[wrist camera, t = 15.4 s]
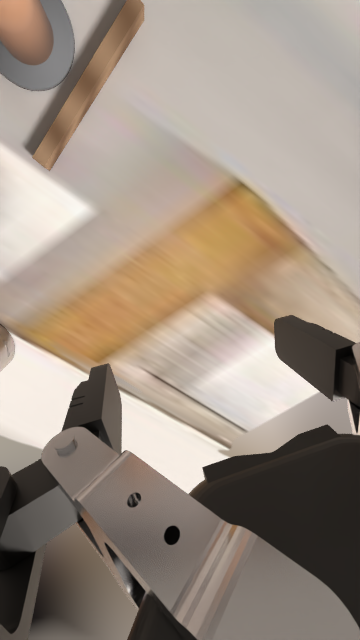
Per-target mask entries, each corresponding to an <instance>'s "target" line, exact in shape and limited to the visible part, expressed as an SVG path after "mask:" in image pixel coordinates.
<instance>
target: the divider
mask: <svg viewBox="0 0 360 640" xmlns="http://www.w3.org/2000/svg"><path fill="white" fill-rule="evenodd" d="M143 21H144V4H143V3H142V2H141V1H140V0H127V1H126V3H125V4H124V6H123V8H122V9H121V11H120V13H119V14H118V16H117V18H116V19H115V21H114V23H113V24H112V26H111V28H110V29H109V31H108V33H107V34H106V36H105V38H104V39H103V41H102V42H101V44H100V46H99V47H98V49H97V51H96V52H95V54H94V56H93V57H92V59H91V61H90V62H89V64H88V66H87V67H86V69H85V71H84V72H83V74H82V76H81V77H80V79H79V81H78V82H77V84H76V86H75V87H74V89H73V91H72V92H71V94H70V96H69V97H68V99H67V100H66V102H65V104H64V105H63V107H62V109H61V110H60V112H59V114H58V115H57V117H56V119H55V120H54V122H53V124H52V125H51V127H50V129H49V130H48V132H47V134H46V135H45V137H44V139H43V140H42V142H41V144H40V145H39V147H38V149H37V150H36V152H35V154H34V155H33V157H32V158H33V159H35V160H36V161H37V162H38V163H40V164H41V165H42V166H43V167H45V168H46V169H48V170H49V171H50V170H51V168H52V167H53V165H54V163H55V162H56V160H57V159H58V157H59V155H60V154H61V152H62V151H63V149H64V147H65V146H66V144H67V143H68V141H69V139H70V138H71V136H72V135H73V133H74V131H75V130H76V128H77V127H78V125H79V123H80V122H81V120H82V119H83V117H84V115H85V114H86V112H87V111H88V109H89V107H90V106H91V104H92V103H93V101H94V99H95V98H96V96H97V95H98V93H99V91H100V90H101V88H102V87H103V85H104V83H105V82H106V80H107V79H108V77H109V75H110V74H111V72H112V71H113V69H114V67H115V66H116V64H117V63H118V61H119V59H120V58H121V56H122V55H123V53H124V51H125V50H126V48H127V47H128V45H129V43H130V42H131V40H132V39H133V37H134V35H135V34H136V32H137V31H138V29H139V27H140V26H141V24H142V23H143Z"/></svg>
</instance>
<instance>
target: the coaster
mask: <svg viewBox="0 0 360 640" xmlns="http://www.w3.org/2000/svg"><path fill="white" fill-rule="evenodd" d="M40 2H41V4H42V6H43V8H44V10H45V12H46V15H47V17H48V19H49V21H50V24H51V26H52V30H53V36H54V44H53V50H52V52H51V55H50V56H49V58H48V59H47V60H46V61H45V62H43V63H42V64H39V65H27V64H24V63H22V62H20V61H18V60H17V59H16V58H14V57H13V56H12V55H11V54H10V52H9V51H8V50H7V49H6V47H5V46H4V45H3V43H2V42H1V41H0V73H1V74H2V75H3V76H5V77H6V78H7V79H8V80H9V81H11V82H12V83H14V84H16V85H18V86H19V87H22V88H24V89H28V90H32V91H45V90H49V89H51V88H54V87H55V86H57V85H58V84H60V83H61V82H62V81H63V80H64V79H65V77H66V76H67V74H68V73H69V71H70V68H71V66H72V63H73V58H74V50H75V43H74V34H73V29H72V25H71V22H70V19H69V16H68V14H67V11H66V9H65V7H64V5H63V3H62V1H61V0H40Z"/></svg>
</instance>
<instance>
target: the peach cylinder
mask: <svg viewBox="0 0 360 640" xmlns="http://www.w3.org/2000/svg"><path fill="white" fill-rule="evenodd" d="M0 41H1V42H2V43H3V45H4V46H5V47H6V49H7V50H8V51H9V52H10V54H11V55H12V56H13V57H14V58H16V59H17V60H18V61H20V62H22V63H24V64H27V65H39V64H42V63H43V62H45V61H46V60H47V59H48V58H49V56H50V55H51V52H52V50H53V44H54V36H53V30H52V26H51V24H50V21H49V19H48V17H47V15H46V12H45V10H44V8H43V6H42V4H41V2H40V0H0Z"/></svg>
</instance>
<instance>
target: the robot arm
mask: <svg viewBox="0 0 360 640" xmlns="http://www.w3.org/2000/svg"><path fill="white" fill-rule="evenodd" d="M274 333H275V350H276V353H277V355H278V357H279V359H280V360H281V361H283V362H284V363H285V364H286V365H288V366H289V367H290V368H291V369H293V370H294V371H295V372H296V373H298V374H299V375H300V376H301V377H303V378H304V379H305V380H306V381H308V382H309V383H310V384H311V385H313V386H314V387H315V388H316V389H318V390H319V391H320V392H321V393H323V394H324V395H325V396H326V397H328V398H329V399H330V400H331V401H337V400H340V399H342V398H347V399H348V404H347V408H348V412H349V417H350V422H351V427H352V432H353V434H337V433H336V432H335V431H334V430H333V429H332V428H331V427H330V426H328V425H324V426H321V427H319V428H316V429H313V430H310V431H307V432H304V433H301V434H298V435H297V436H296V437H294V438H293V439H291V440H290V441H289V442H287V443H286V444H284V445H283V446H281V447H280V448H279V449H277V450H276V451H274V452H272V453H264V454H253V455H242V456H234V457H231V458H228V459H225V460H222V461H219V462H216V463H214V464H211V465H208V466H205V467H202V468H203V472H204V477H205V480H204V481H202V482H201V483H199V484H198V485H197V486H196V487H195V488H194V489H193V490H192V491H191V492H190V493H189V494H187V493H186V492H184V491H183V490H182V489H180V488H179V487H178V486H176V485H175V484H173V483H172V482H171V481H169V480H168V479H167V478H165V477H164V476H163V475H161V474H160V473H159V472H157V471H156V470H154V469H153V468H152V467H150V466H149V465H148V464H146V463H145V462H144V461H142V460H141V459H140V458H138V457H137V456H136V455H134V454H133V453H131V452H130V451H127V450H125V451H124V452H123V453H122V454H121V436H122V404H121V398H120V393H119V390H118V387H117V384H116V381H115V378H114V375H113V372H112V369H111V367H110V365H109V363H108V364H104V365H100V366H97V367H93V368H91V371H90V375H89V380H87V381H84V382H81V383H80V384H79V386H78V387H77V388H76V389H75V390H74V393H73V396H72V401H71V402H70V406H69V407H70V408H69V409H68V412H67V415H66V419H65V422H64V425H63V428H62V432H60V433H59V434H57V435H56V436H55V437H53V438H52V439H51V440H50V441H49V442H48V443H47V444H46V446H45V447H44V449H43V451H42V454H41V459H39V460H38V461H36V462H35V463H33V464H31V465H29V466H28V467H26V468H24V469H22V470H20V471H18V472H16V473H15V474H13V475H11V473H10V472H9V471H8V469H7V468H6V467H0V640H28V636H29V631H30V626H31V621H32V616H33V610H34V605H35V600H36V595H37V590H38V585H39V579H40V575H41V569H42V564H43V559H44V554H45V549H46V544H47V542H49V541H50V540H51V539H53V538H54V537H56V536H57V535H59V534H60V533H62V532H63V531H64V530H66V529H67V528H69V527H70V526H72V525H73V524H75V523H76V524H77V526H78V527H79V528H80V530H81V531H82V532H83V534H84V535H85V537H86V538H87V539H88V541H89V542H90V543H91V545H92V546H93V547H94V549H95V550H96V551H97V553H98V554H99V555H100V557H101V558H102V560H103V561H104V562H105V564H106V565H107V566H108V568H109V569H110V571H111V572H112V574H113V576H114V577H115V579H116V581H117V582H118V584H119V585H120V587H121V588H122V590H123V591H124V593H125V594H126V595H127V597H128V598H129V600H130V601H131V602H132V604H133V605H134V607H135V608H136V609H137V611H138V613H137V616H136V618H135V621H134V623H133V626H132V629H131V631H130V634H129V636H128V639H127V640H360V342H359V343H355V342H353V341H351V340H349V339H346V338H344V337H342V336H340V335H338V334H336V333H333V332H332V331H329V330H327V329H326V330H325V328H323V327H321V326H319V325H317V324H313V323H309V322H306V321H304V320H301V319H299V318H297V317H295V316H293V315H289V316H285V317H281V318H278V319H276V320H275V322H274ZM14 352H15V345H14V341H13V339H12V337H11V335H10V334H9V332H8V331H7V330H6V329H5V328H4V327H2V326H1V325H0V371H2V370H3V369H4V368H5V367H6V366H7V365H8V364H9V363H10V361H11V360H12V358H13V356H14Z"/></svg>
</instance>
